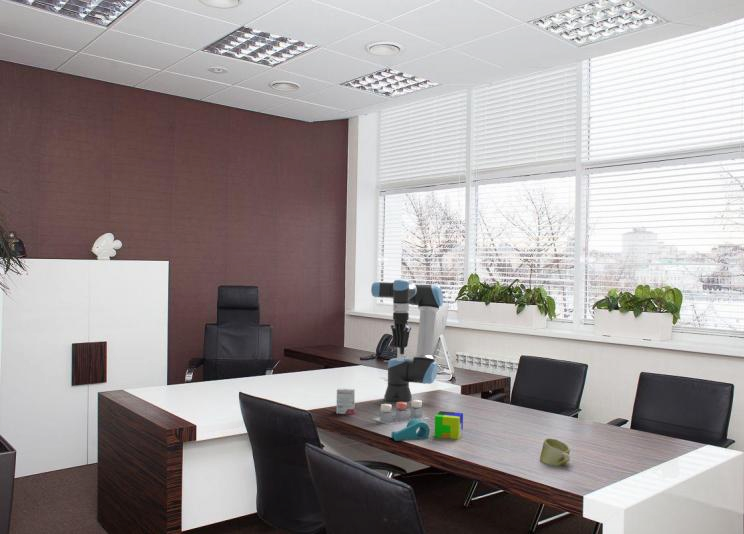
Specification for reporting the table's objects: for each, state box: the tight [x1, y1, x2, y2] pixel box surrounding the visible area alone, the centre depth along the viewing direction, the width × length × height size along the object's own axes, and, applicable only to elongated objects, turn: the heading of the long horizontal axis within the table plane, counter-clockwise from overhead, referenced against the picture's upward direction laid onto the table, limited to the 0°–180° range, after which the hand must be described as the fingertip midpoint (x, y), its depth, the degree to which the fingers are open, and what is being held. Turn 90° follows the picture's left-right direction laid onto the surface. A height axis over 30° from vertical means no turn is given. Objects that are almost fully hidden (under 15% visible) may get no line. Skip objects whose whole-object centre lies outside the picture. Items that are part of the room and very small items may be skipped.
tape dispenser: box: [390, 419, 431, 442], centre depth 259 cm, size 7×15×8 cm, turn 110°
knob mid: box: [395, 402, 408, 411], centre depth 292 cm, size 5×5×7 cm
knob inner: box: [410, 399, 423, 408], centre depth 297 cm, size 5×5×7 cm
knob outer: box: [380, 403, 393, 413], centre depth 286 cm, size 5×5×7 cm
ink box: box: [335, 388, 356, 415], centre depth 304 cm, size 9×5×12 cm, turn 84°
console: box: [372, 406, 431, 426], centre depth 292 cm, size 24×13×5 cm, turn 125°
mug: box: [539, 437, 571, 466], centre depth 225 cm, size 12×10×10 cm
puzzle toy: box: [434, 410, 464, 440], centre depth 263 cm, size 10×10×10 cm
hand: (400, 360), depth 299 cm, fingers closed
